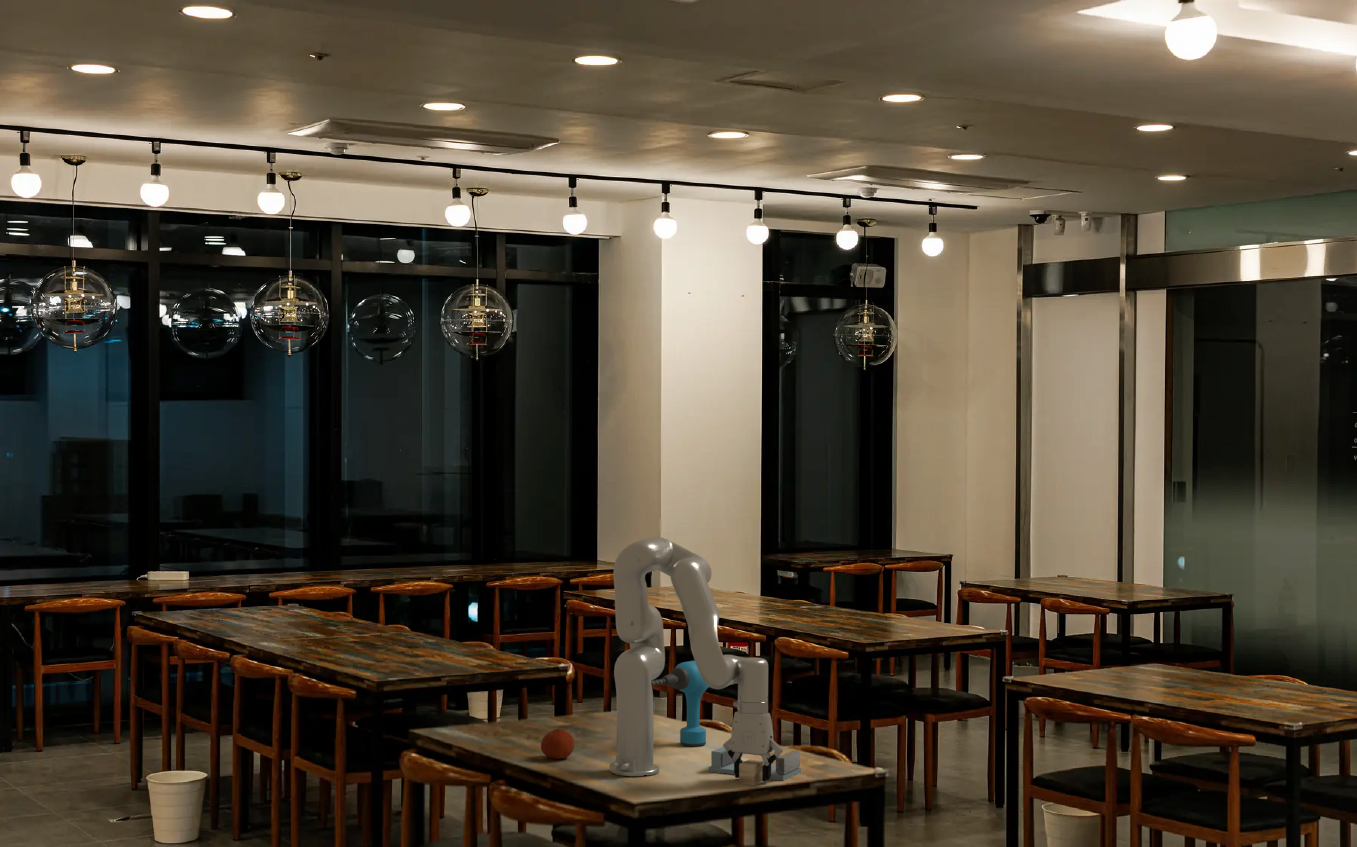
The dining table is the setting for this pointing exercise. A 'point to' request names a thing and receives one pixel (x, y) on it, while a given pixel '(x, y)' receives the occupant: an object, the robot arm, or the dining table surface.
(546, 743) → the fruit
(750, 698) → the robot arm
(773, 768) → the vise
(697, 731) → the power drill
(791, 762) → the block
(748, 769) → the block
